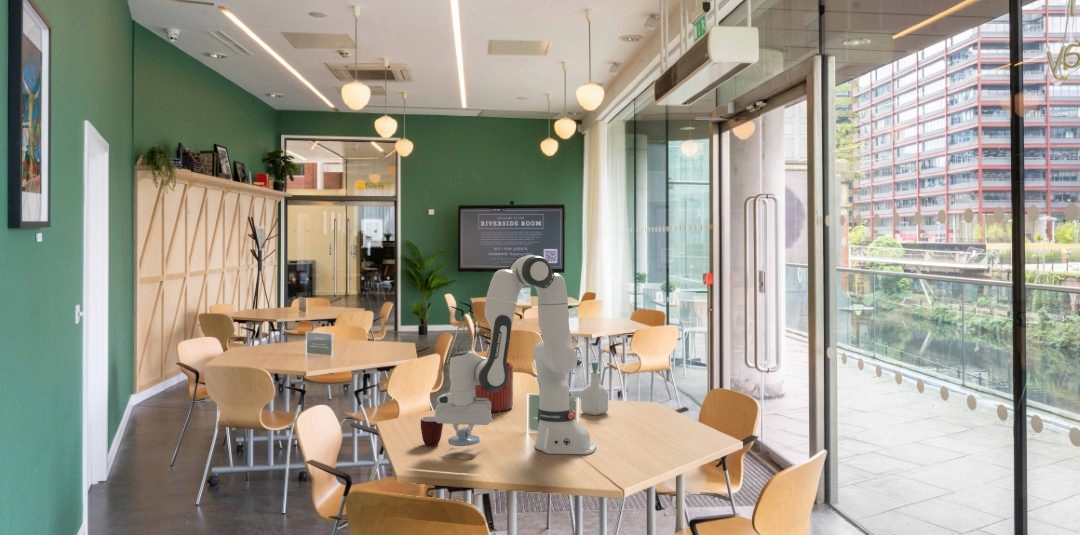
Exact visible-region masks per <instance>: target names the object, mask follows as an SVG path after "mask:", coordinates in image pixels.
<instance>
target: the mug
mask: <svg viewBox="0 0 1080 535" xmlns="http://www.w3.org/2000/svg"><path fill="white" fill-rule="evenodd" d="M443 427H444V423H437V422H436V421H435V416H425V417H422V418H420V430H421V437H422V441H423V443H424V445H425V446H426V447H436V446H439V443H440V442H441V439H442V433H443Z"/></svg>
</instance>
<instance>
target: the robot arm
mask: <svg viewBox="0 0 1080 535" xmlns="http://www.w3.org/2000/svg"><path fill="white" fill-rule="evenodd" d="M552 268H553V267H552V266H551V264H550V263H549V261H548V260H547V259H546V258H545V257H543V256H540V255H533V254H530V255H529V254H527V255H522V256H518V257H517V258H516V259H514V261H513V262H511V264H510V265H509V266H508V267H507V269H506V268H503V269H498V270H497V271H495V272H494V274H493V276H492V278H491V280H490V284H489V286H488V290H487V293H486V298H485V301H484V302H485V303H484V317H485V319H486V321H487V323H488V325H489V328H490V332H491V337H490V338H491V339H490V345H489V351H488V356H487V357H485V356H482V355H479V354H477V353H475V352H474V351H472V350H470V349H465V350H459V351H456V352H454V353H453V354H452V355H451V356H450V360H449V379H450V387H449V392H446V393H442V394H440V395H439V396H438V397H436V402H437V404H436V406H435V408H434V409H435V410H434V411H435V412H434V417H435V421H436V422H437V423H443V424H451V425H452V427H453V429H454V430H455V432H456V435H455V436H459V430H460V428H459V426H460V425H467V427H469V431H467V432H466V437H471V435H472V431H473V429H474V428H475V426H476V425H477V426H478V425H479V426H488V425H490V423H492V422H493V418H492V417H493V416H492V413H491V401H490V400H489V399H487V398H477V397H475V386H476V385H481V386H482V387H483V388H484V389H485V390H486V391H489V392H497V391H500V390H501V389H503V388H504V387H505V386H506V384H507V382H508V377H509V375H508V369H507V362H508V353H509V346H510V340H511V331H512V326H513V321H514V317H515V313H516V308H517V305H518V298H519V294H520V292H521V290H522V289H523V287H534V288H535V290H536V294H537V318H538V321H537V323H538V327H539V329H540V333H541V338H542V340H540V341H538V342H537V343H536V344H535V346H534V348H533V349H532V350H533V351H532V352H533V353H532V355H533V358H534V361H535V366H536V368H535V369H536V375H537V380H538V389H539V391H538V393H539V394H538V395H539V396H538V399H539V400H538V402H539V403H538V404H539V406H538V408H537V425H538V426H537V434H536V439H535V443H534V446H533V447H534V448H535V449H537V450H539V451H542V452H543V453H545V454H548V455H549V454H550V455H551V454H552V455H554V454H555V455H590V454H593V453H594V452H595V451H596V449H597V445H596V443H594V442H592V441H591V437H590V433H589V431H588V429H587V428H586V427H585V426H583V425H582V424H581V423H579V422H578V421H577V420H576V419H575V414H576V411H575V410H572V409H571V408H570V386H569V383H568V380H567V375H566V374H568V373H571V372H572V371H574V369H575V368H576V366H577V363H578V360H579V359H578V355H577V352H576V350H575V347H574V343H573V342H574V341H573V338H572V334H571V329H570V328H571V327H570V320H569V300H568V299H569V298H568V290H567V285H566V280H565V277H564V276H562V275H561V274H560V273H557V272H554V270H553V269H552ZM487 400H488V401H487Z"/></svg>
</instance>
